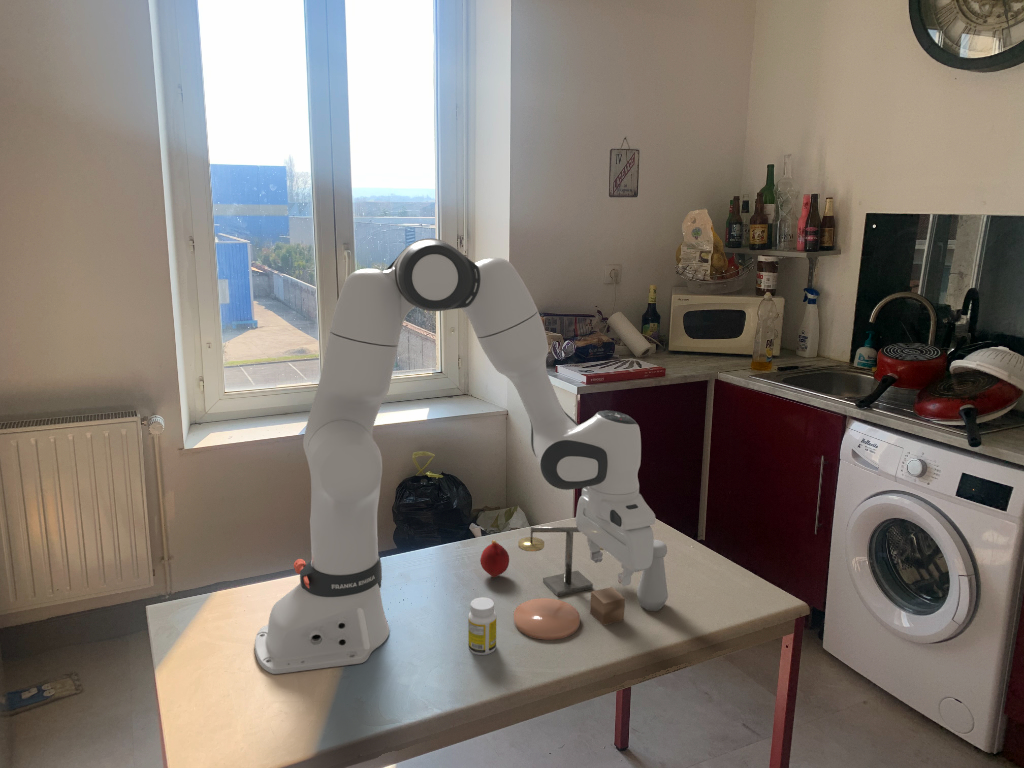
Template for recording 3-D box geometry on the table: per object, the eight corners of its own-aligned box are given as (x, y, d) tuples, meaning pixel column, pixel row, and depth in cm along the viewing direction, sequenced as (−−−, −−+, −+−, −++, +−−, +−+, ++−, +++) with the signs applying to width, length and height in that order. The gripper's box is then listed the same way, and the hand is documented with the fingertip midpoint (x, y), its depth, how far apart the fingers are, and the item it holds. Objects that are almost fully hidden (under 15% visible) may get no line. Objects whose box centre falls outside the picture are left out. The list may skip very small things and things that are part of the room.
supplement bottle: (490, 637, 128) (491, 594, 127) (500, 652, 124) (500, 607, 122) (464, 642, 127) (464, 598, 125) (473, 658, 123) (473, 612, 121)
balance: (525, 603, 140) (527, 535, 137) (511, 589, 145) (513, 523, 142) (621, 581, 149) (625, 517, 146) (606, 568, 154) (609, 506, 151)
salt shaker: (642, 594, 144) (646, 533, 141) (671, 602, 141) (675, 540, 138) (631, 607, 139) (635, 544, 136) (660, 616, 136) (665, 552, 133)
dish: (531, 646, 126) (532, 639, 126) (503, 611, 137) (503, 606, 136) (591, 630, 131) (592, 624, 131) (559, 598, 142) (559, 593, 141)
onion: (510, 570, 152) (510, 535, 151) (507, 584, 147) (507, 547, 145) (482, 569, 153) (482, 533, 151) (478, 582, 147) (478, 545, 146)
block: (602, 625, 133) (604, 603, 132) (589, 613, 137) (591, 591, 136) (623, 620, 135) (625, 598, 134) (610, 608, 139) (611, 587, 138)
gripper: (568, 483, 139) (566, 551, 142) (630, 525, 121) (626, 601, 124) (597, 479, 141) (594, 545, 144) (661, 519, 123) (657, 594, 126)
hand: (609, 571), depth 134 cm, fingers open, 8 cm apart
